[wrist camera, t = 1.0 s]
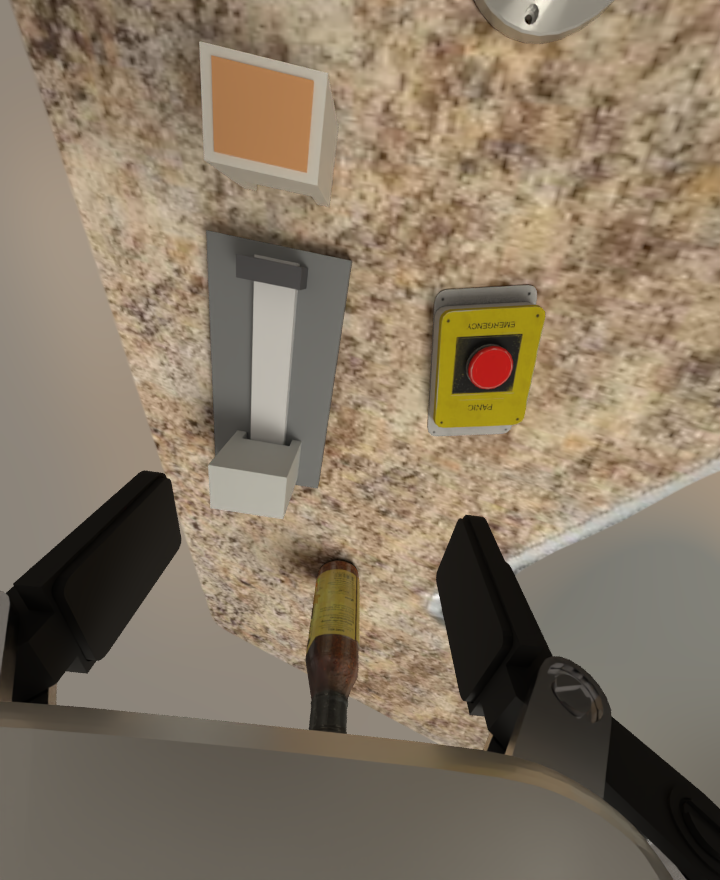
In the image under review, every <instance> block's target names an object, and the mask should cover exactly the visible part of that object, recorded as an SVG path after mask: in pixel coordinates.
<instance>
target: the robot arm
mask: <svg viewBox="0 0 720 880" xmlns="http://www.w3.org/2000/svg"><path fill="white" fill-rule="evenodd" d="M474 1H475V3H476V5H477V7H478V8H479V10H480V12H481V13H482V14H483V15H484V17H485V18H486V19H487V20H488V21H489V23H490V24H491V25H492V26H493V27H494V28H496V29H497V30H498V31H500V32H501V33H503V34H504V35H505V36H507V37H508V38H511V39H514V40H517V41H520V42H523V43H534V44H544V43H548V42H552V41H557V40H561V39H563V38H565V37H567V36H569V35H571V34H573V33H575V32H578V31H580V30H581V29H582V28H584V27H585V26H586V25H588V24H589V23H590V22H592V21H593V20H594V19H596V18H597V17H599V16H600V15H601V14H602V13H603V12H604V10H605V9H606V8H607V7H608V6H609V5H610V4H611V3H612V2H613V1H614V0H474ZM526 19H527V20H528V22H529V25H528V24H527V23H526V22H525V20H526ZM180 544H181V534H180V529H179V523H178V517H177V512H176V506H175V501H174V495H173V489H172V484H171V480H170V479H168V478H166V475H165V474H164V473H159V472H152V471H142V472H140V473H138V474H137V475H136V476H135V477H134V478H133V479H132V480H131V481H130V482H128V483H127V484H126V485H125V486H124V487H123V488H121V489H120V490H119V491H118V492H117V493H116V494H115V495H113V496H112V497H111V498H110V499H109V500H108V501H107V502H106V503H104V504H103V505H102V506H101V507H100V508H99V509H98V510H96V511H95V512H94V513H93V514H92V515H91V516H90V517H88V518H87V519H86V520H85V521H84V522H83V523H82V524H80V525H79V526H78V527H77V528H76V529H75V530H74V531H73V532H71V533H70V534H69V535H68V536H67V537H66V538H65V539H63V540H62V541H61V542H60V543H59V544H58V545H57V546H55V548H53V549H52V550H51V551H50V552H49V553H48V554H47V555H45V556H44V557H43V558H42V559H41V560H40V561H38V562H37V563H36V564H35V565H34V566H33V567H32V568H30V569H29V570H28V571H27V572H26V573H25V574H24V575H23V576H22V577H20V578H19V579H18V580H17V581H16V582H15V583H14V584H13V585H14V587H12V588H11V589H10V590H9V591H8V592H7V593H4V592H3V591H0V880H720V809H719V808H718V807H717V806H716V805H715V804H714V803H713V802H712V801H711V800H710V799H709V798H708V797H707V796H706V795H705V794H704V793H702V792H701V791H700V790H699V789H698V788H696V787H695V786H694V785H693V784H692V783H691V782H689V781H688V780H687V779H686V778H685V777H683V776H682V775H681V774H680V773H679V772H677V771H676V770H675V769H674V768H673V767H671V766H670V765H669V764H668V763H667V762H665V761H664V760H663V759H662V758H661V757H659V756H658V755H657V754H656V753H655V752H653V751H652V750H651V749H650V748H649V747H647V746H646V745H645V744H644V743H643V742H641V741H640V740H639V739H638V738H637V737H636V736H634V735H633V734H632V733H631V732H630V731H628V730H627V729H626V728H625V727H624V726H622V725H621V724H620V723H619V722H618V721H616V720H615V719H614V718H613V717H612V716H611V708H610V705H609V703H608V700H607V697H606V696H605V694H604V692H603V691H602V689H601V688H600V686H599V684H598V683H597V682H596V681H595V680H594V679H593V677H592V676H591V675H590V674H589V673H587V672H586V671H585V670H584V669H583V668H581V666H579V665H578V664H575V663H574V662H572V661H571V660H569V659H566V658H563V657H559V656H552V654H551V652H550V650H549V647H548V645H547V643H546V641H545V639H544V637H543V635H542V633H541V630H540V628H539V626H538V624H537V622H536V620H535V618H534V615H533V613H532V611H531V610H530V607H529V605H528V603H527V601H526V598H525V596H524V595H523V592H522V590H521V588H520V586H519V583H518V581H517V579H516V577H515V575H514V573H513V571H512V569H511V567H510V565H509V564H508V563H507V562H505V560H504V558H503V556H502V554H501V551H500V549H499V547H498V545H497V543H496V541H495V538H494V536H493V534H492V532H491V530H490V527H489V525H488V523H487V521H486V519H485V518H484V517H479V516H472V515H465V516H464V518H463V519H461V518H460V519H458V521H457V524H456V526H455V529H454V531H453V533H452V536H451V538H450V541H449V543H448V546H447V548H446V551H445V553H444V556H443V558H442V561H441V563H440V566H439V568H438V571H437V575H436V582H437V587H438V592H439V597H440V602H441V606H442V611H443V616H444V621H445V626H446V630H447V635H448V640H449V645H450V650H451V654H452V659H453V664H454V669H455V673H456V678H457V683H458V688H459V692H460V696H461V698H462V700H463V701H467V705H468V709H469V714H470V715H476V716H485V720H486V724H487V728H488V730H489V732H490V733H489V736H488V738H487V741H486V743H485V746H484V748H483V750H477V749H469V748H462V747H454V746H446V745H439V744H431V743H423V742H415V741H406V740H397V739H387V738H378V737H369V736H360V735H351V734H342V733H333V732H323V731H314V730H304V729H294V728H285V727H275V726H266V725H256V724H247V723H236V722H227V721H217V720H208V719H198V718H188V717H178V716H168V715H157V714H147V713H136V712H126V711H116V710H106V709H96V708H85V707H73V706H60V705H56V693H57V690H56V689H57V687H56V685H57V682H58V681H59V679H60V678H61V677H62V675H63V674H64V673H65V671H70V672H78V673H88V672H89V670H90V669H91V667H92V666H93V665H94V663H95V662H96V661H97V660H98V661H99V660H101V659H102V658H103V657H105V655H106V654H107V653H108V652H109V650H110V649H111V647H112V646H113V644H114V643H115V641H116V640H117V638H118V637H119V636H120V634H121V633H122V631H123V630H124V628H125V627H126V625H127V624H128V622H129V621H130V619H131V618H132V616H133V615H134V614H135V612H136V611H137V609H138V608H139V606H140V605H141V603H142V602H143V601H144V599H145V598H146V596H147V595H148V593H149V592H150V590H151V589H152V587H153V586H154V584H155V583H156V582H157V580H158V579H159V577H160V576H161V574H162V573H163V571H164V570H165V568H166V567H167V565H168V564H169V563H170V561H171V560H172V558H173V557H174V555H175V554H176V552H177V551H178V549H179V547H180Z"/></svg>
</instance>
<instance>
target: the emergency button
mask: <svg viewBox="0 0 720 880" xmlns="http://www.w3.org/2000/svg"><path fill="white" fill-rule="evenodd" d="M536 301H537V291H536V289H535V288H534V286H530V285H518V286H501V287H483V288H465V289H447V290H443V291H441V292H439V294H438V295H437V296H436V298H435V302H434V316H433V335H432V353H431V372H430V391H429V409H428V432H429V433H430V434H431V435H433V436H457V435H485V434H503V433H507V432H508V431H509V430H510V429H511V427H512V425H517V424H519V423H520V422H522V420H523V418H524V415H525V410H526V406H527V401H528V396H529V391H530V387H531V382H532V377H533V372H534V368H535V363H536V358H537V353H538V349H539V344H540V339H541V334H542V330H543V325H544V320H545V311H544V310H543V309H542V308H541V307H540V306H538V305H536Z"/></svg>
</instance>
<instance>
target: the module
mask: <svg viewBox="0 0 720 880" xmlns="http://www.w3.org/2000/svg"><path fill="white" fill-rule="evenodd" d="M199 46H200V71H201V97H202V122H203V147H204V160H205V161H206V162H207V163H209V164H210V165H212V166H213V167H214V168H216V169H217V170H219V171H220V172H222V173H223V174H224V175H226V176H227V177H229V178H230V179H232V180H233V181H234V182H236V183H237V184H239V185H240V186H241V187H243V188H244V189H249V190H254V191H257V184H258V185H262V186H267V187H271V188H276V189H280V190H285V191H289V192H294V193H298V194H303V195H307V196H312V198H313V199H314V200H315V202H316V203H317V205H321V206H326V207H330V198H331V189H332V180H333V171H334V163H335V154H336V145H337V136H338V122H337V116H336V111H335V106H334V101H333V96H332V91H331V86H330V81H329V76H328V73H326V72H322V71H318V70H314V69H310V68H306V67H302V66H298V65H294V64H290V63H286V62H282V61H278V60H274V59H270V58H266V57H261V56H257V55H253V54H249V53H245V52H241V51H237V50H233V49H229V48H225V47H221V46H217V45H213V44H209V43H205V42H201V41H199Z"/></svg>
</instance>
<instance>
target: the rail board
mask: <svg viewBox="0 0 720 880" xmlns="http://www.w3.org/2000/svg"><path fill="white" fill-rule="evenodd" d="M206 235H207V260H208V285H209V310H210V335H211V360H212V384H213V409H214V434H215V458H214V459H213V460H212V461H211V462H210V463H209V465H208V469H209V488H210V507H211V508H214V509H220V510H227V511H233V512H240V513H246V514H252V515H259V516H265V517H272V518H278V519H283V518H284V515H285V513H286V510H287V507H288V504H289V501H290V498H291V495H292V492H293V490H294V487H295V485H300V486H307V487H313V488H318V484H319V480H320V473H321V466H322V460H323V453H324V446H325V440H326V433H327V426H328V420H329V413H330V406H331V399H332V393H333V386H334V379H335V373H336V366H337V359H338V353H339V346H340V339H341V333H342V326H343V319H344V312H345V306H346V299H347V292H348V286H349V279H350V272H351V266H352V261H350V260H345V259H340V258H335V257H331V256H326V255H321V254H317V253H312V252H307V251H302V250H298V249H293V248H288V247H283V246H279V245H274V244H269V243H264V242H260V241H255V240H250V239H245V238H241V237H236V236H231V235H226V234H222V233H217V232H212V231H207V230H206Z"/></svg>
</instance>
